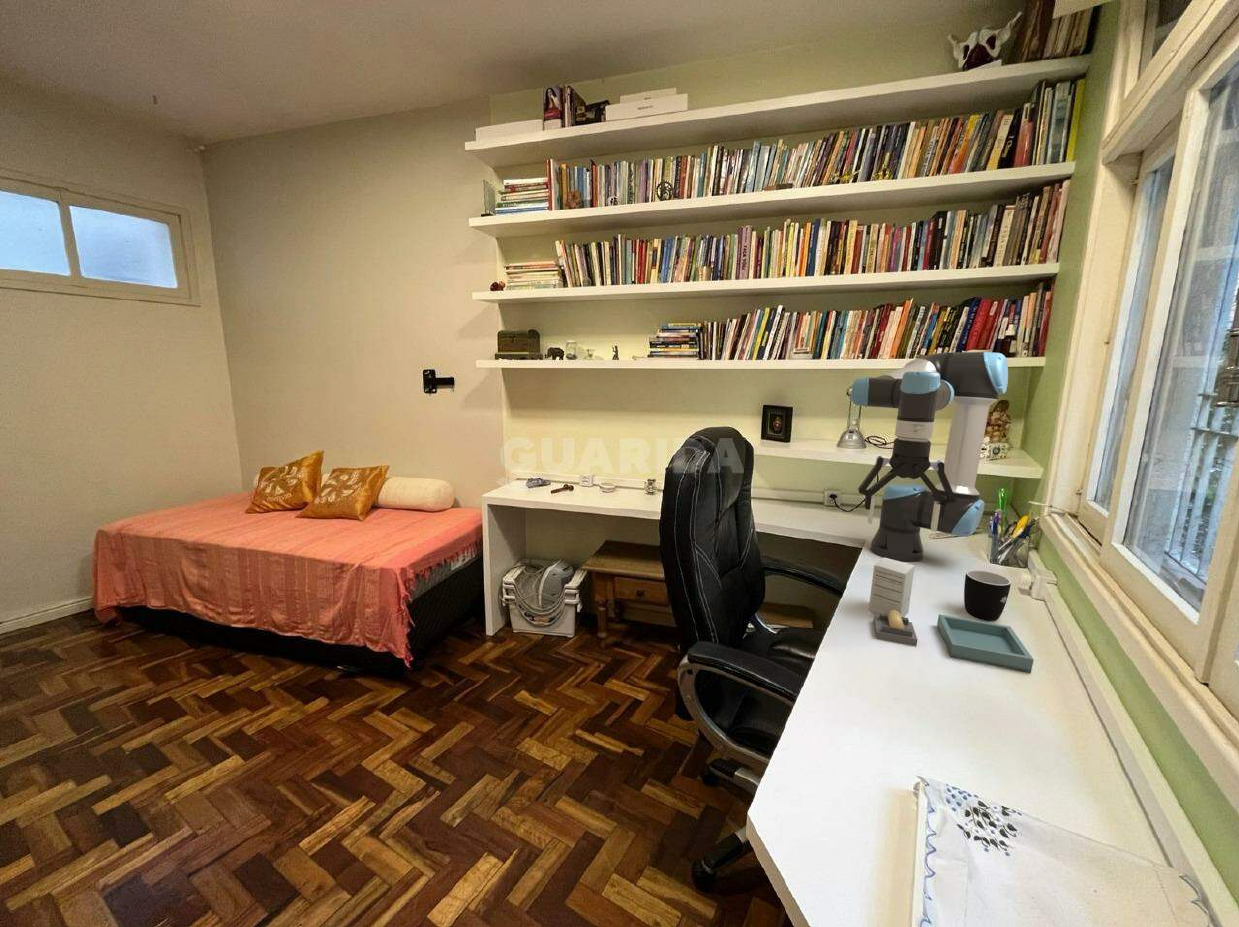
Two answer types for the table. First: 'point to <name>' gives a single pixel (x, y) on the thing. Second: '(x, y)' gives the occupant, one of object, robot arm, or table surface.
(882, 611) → the supplement box
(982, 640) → the parts tray
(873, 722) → the table surface
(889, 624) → the fuse block
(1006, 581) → the mug
